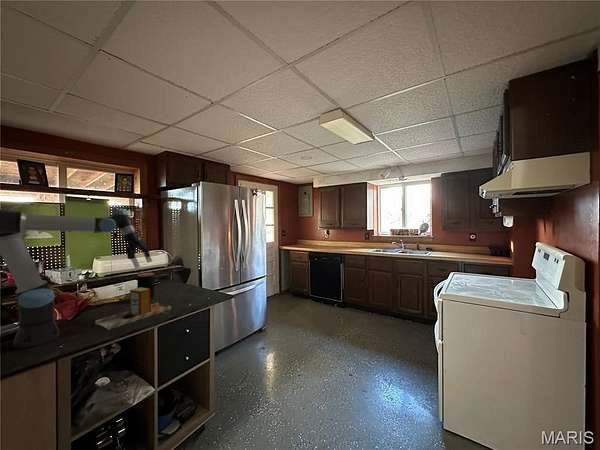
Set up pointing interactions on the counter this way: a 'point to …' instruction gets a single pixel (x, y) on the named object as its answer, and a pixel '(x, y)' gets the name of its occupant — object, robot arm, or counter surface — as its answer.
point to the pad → (111, 322)
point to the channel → (130, 318)
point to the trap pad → (156, 308)
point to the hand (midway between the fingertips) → (143, 264)
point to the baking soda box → (140, 301)
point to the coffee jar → (146, 282)
